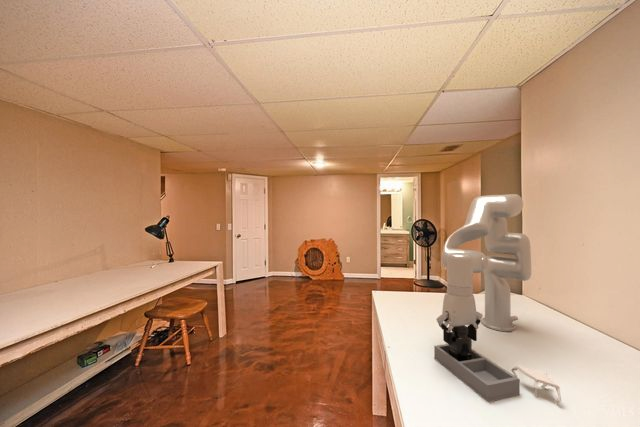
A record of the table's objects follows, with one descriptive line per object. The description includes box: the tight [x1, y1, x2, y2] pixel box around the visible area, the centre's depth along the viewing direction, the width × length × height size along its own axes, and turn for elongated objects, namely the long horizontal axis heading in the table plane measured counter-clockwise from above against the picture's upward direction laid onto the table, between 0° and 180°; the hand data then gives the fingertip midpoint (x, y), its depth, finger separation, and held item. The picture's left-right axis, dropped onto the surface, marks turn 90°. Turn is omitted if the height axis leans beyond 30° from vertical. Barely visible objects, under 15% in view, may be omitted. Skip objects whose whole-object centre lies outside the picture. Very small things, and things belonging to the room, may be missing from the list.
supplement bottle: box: [447, 325, 473, 362], centre depth 84 cm, size 7×7×12 cm
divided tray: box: [434, 343, 521, 403], centre depth 79 cm, size 11×21×4 cm, turn 14°
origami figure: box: [510, 364, 562, 406], centre depth 72 cm, size 12×8×5 cm
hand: (460, 341), depth 84 cm, fingers open, 9 cm apart
